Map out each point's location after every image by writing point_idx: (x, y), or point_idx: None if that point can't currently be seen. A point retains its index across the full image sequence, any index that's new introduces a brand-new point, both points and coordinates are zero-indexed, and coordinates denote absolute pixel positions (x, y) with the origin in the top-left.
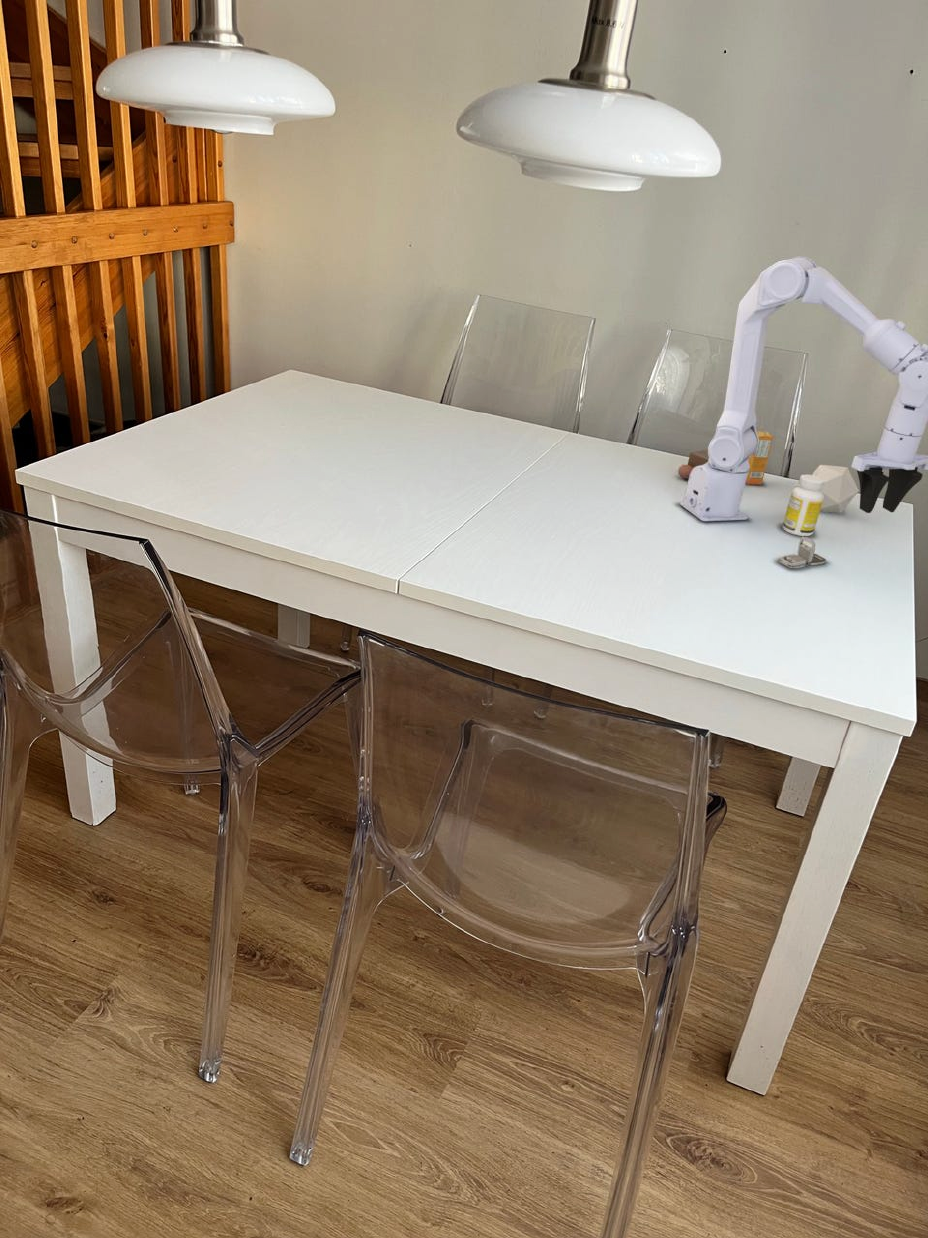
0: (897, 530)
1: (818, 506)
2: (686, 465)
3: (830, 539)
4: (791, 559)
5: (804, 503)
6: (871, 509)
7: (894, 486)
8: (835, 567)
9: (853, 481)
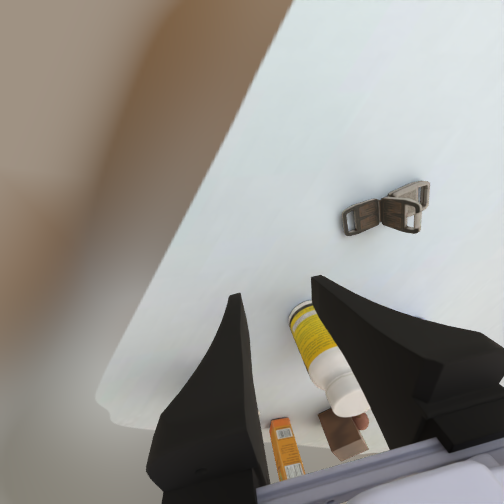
0: (128, 346)
1: (325, 340)
2: (365, 428)
3: (271, 297)
4: (416, 199)
5: None
6: (320, 279)
7: (249, 375)
8: (334, 194)
9: None
